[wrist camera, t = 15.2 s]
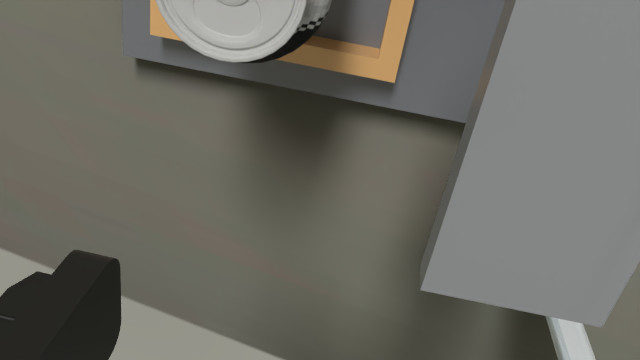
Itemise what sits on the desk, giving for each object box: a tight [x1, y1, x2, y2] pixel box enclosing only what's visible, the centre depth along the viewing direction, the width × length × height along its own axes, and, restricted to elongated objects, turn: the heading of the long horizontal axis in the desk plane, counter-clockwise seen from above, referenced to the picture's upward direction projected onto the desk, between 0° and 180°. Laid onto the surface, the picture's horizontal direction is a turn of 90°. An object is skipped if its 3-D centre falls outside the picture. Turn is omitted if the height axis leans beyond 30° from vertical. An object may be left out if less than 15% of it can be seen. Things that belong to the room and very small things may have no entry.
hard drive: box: [546, 316, 595, 360], centre depth 32 cm, size 2×8×12 cm, turn 24°
